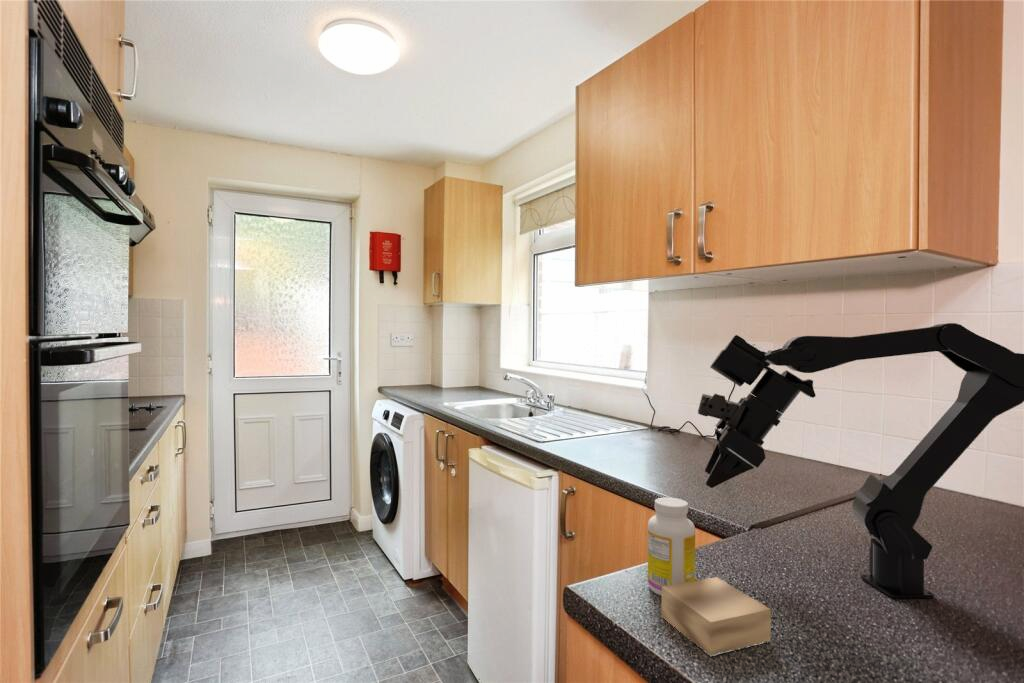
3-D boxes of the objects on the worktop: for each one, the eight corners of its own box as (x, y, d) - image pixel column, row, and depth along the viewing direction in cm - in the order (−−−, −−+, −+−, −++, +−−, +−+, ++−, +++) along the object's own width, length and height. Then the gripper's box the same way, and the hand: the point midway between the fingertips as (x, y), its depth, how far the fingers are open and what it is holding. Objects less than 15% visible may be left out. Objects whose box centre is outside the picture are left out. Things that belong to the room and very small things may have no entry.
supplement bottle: (688, 580, 77) (689, 496, 77) (700, 602, 70) (701, 509, 71) (643, 578, 78) (644, 494, 78) (651, 599, 71) (652, 507, 71)
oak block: (770, 642, 61) (770, 609, 61) (710, 657, 58) (710, 622, 58) (716, 606, 69) (716, 577, 70) (661, 617, 66) (661, 586, 66)
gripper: (718, 372, 93) (668, 439, 96) (723, 377, 75) (662, 460, 78) (774, 408, 90) (721, 477, 92) (794, 423, 72) (727, 507, 75)
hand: (707, 479), depth 85 cm, fingers open, 9 cm apart
